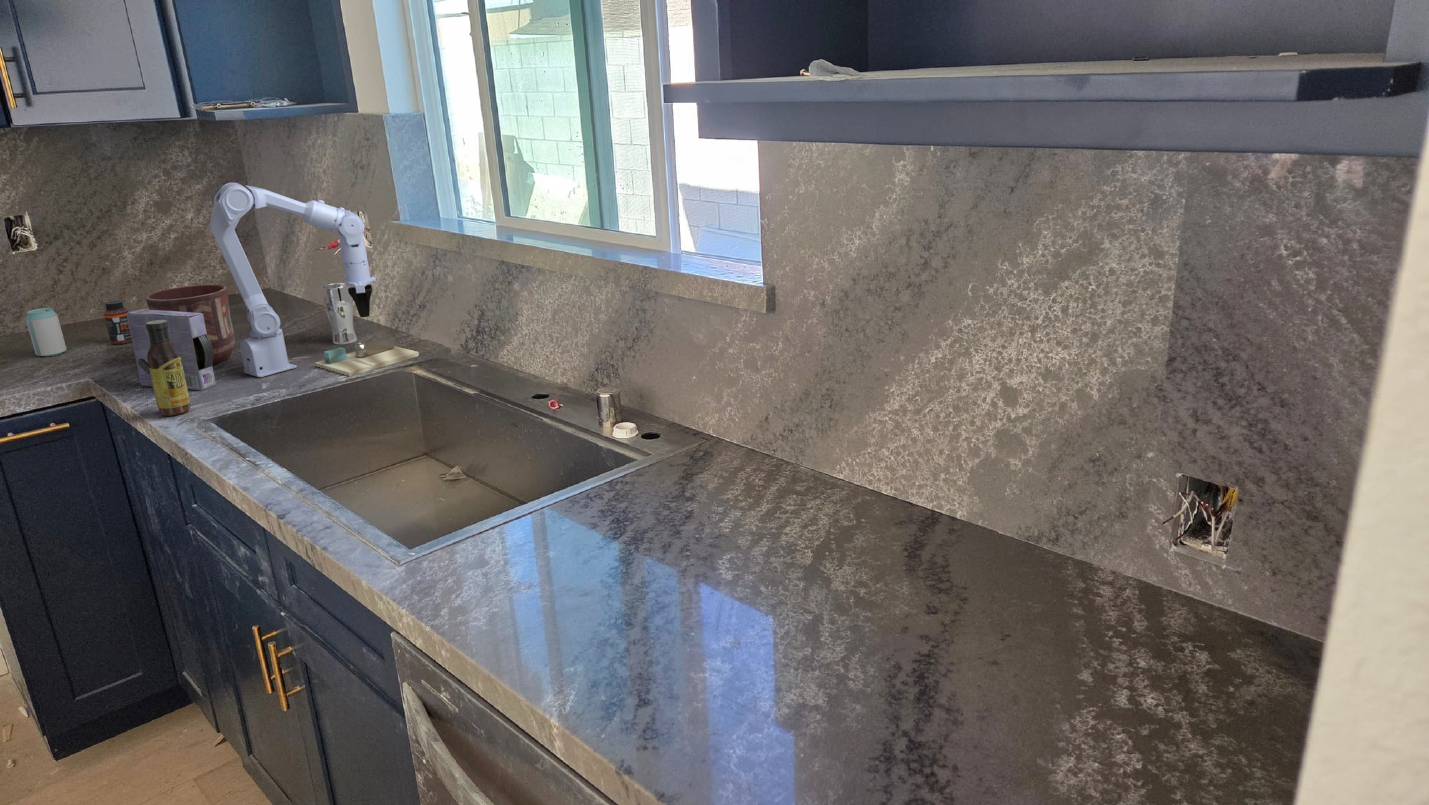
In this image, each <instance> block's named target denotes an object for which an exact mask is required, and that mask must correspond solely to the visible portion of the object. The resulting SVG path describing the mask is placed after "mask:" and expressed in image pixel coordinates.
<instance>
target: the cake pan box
mask: <svg viewBox="0 0 1429 805" xmlns="http://www.w3.org/2000/svg"><path fill="white" fill-rule="evenodd" d="M127 317H128V322H129V327H130V332H131V337H132V342H131V343H132V346H133V351H134V352H133V353H134V357H135V362H136V366H137V370H138V372H137V373H138V377H139V382H140V385H141V387H152V388H153V384H152V379H151V375H150V370H149V363H148V359H147V354H148V351H149V349H150V346H151V343H150V338H149V333H148V330H147V329H146V323H147V322H150V321H155V320H166V321H167V323H168V332H169V336H170V339H171V342H172V344H173V345H174V347H175V349H176V350H177V352H178V354H179V355H180V357H181V361H182V365H183V370H184V375H185V379H186V384H187V389H188V390H192V391H193V390H194V391H201V392H202V391H205V390H207V388H208V389H209V388H213V387H215V386H217V383H216V378H215V373H214V368H213V365H212V364H213V349H212V345H211V342H210V340H209V338H208V336H207V332H206V327H205V322H204V316H203V313H191V312H177V311H161V310H149V309H146V308H145V309H143V308H141V309H137V310H131V311H128V314H127Z"/></svg>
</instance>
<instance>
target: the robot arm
mask: <svg viewBox="0 0 1429 805" xmlns="http://www.w3.org/2000/svg"><path fill="white" fill-rule="evenodd" d="M213 200H214V201H213V207H212V212H211V217H210V220H209V227H210V230H211V232H212V235H213V237H214V239H215V241H216V243H217V246H218V247H219V251H220V253H221V254H222V256H223V259H224V261H225V263H226V265H227V268H228V269H229V271H230V272H229V273H230V275H231V276H232V278H233V281H234V283H235V285H236V287H237V289H238V291H239V293H240V296H241V299H242V300H243V303H244V305H245V308H246V319H247V321H248V324H250V326H251V331H250V332H249V334H248V335H249V337H247V338H245V339H242V340H241V341H240V344H239V345H240V346H239V348H240V354H241V358H242V363H243V367H244V370H243V373H245V374H248V375H250V376H253V377H257V378H264V377H266V376H271V375H274V374H278V373H281V372H284V371H289V370H293V369H296V368H297V364H292V363H289V357H288V353H287V348H286V347H287V346H286V343H285V342H286V341H285V338H284V332H283V329H282V328H280V327H281V318H280V316H279V315H278V314H277V313H276V312H275V310H274V308H273V307H272V306H271V305H270V304H269V303H268V301H267V298H266V297H265V295H264V293H263V291H262V288H261V286H260V284H259V282H258V280H257V278H256V274H255V273H254V271H253V268H252V266H251V264H250V262H249V260H248V257H247V255H246V253H245V251H244V248H243V246H242V244H241V242H240V240H239V237H238V235H237V233H236V231H235V229H236V227H237V225H238V224H239V222H240V220H241V219H242V217H243V216H245V215H246V214H247V213H248V212H249V211H250V210H251V209H252V207H253V208H254V209H256V210H257V209H261V208H265V207H267V208H268V207H269V208H271V209H275V210H280V211H282V212H283V211H284V212H287V213H290V214H293V215H296V216H300V217H302V219H303V221H304V223H306V224H307V225H310V226H314V227H315V228H320V229H323V230H325V231H326V230H327V231H330V232H337V233H338V237H339V242H340V243H339V246H340V252H341V258H342V263H343V264H342V265H343V270H344V275H345V283H346V285H349V288H348V293H349V294H350V296H351V297H352V301H353V303H354V304H355V307H356V310H357V313H358V315H359V317H360V318H370V312H371V311H370V310H371V309H370V308H371V307H370V306H371V297H372V294H373V286H372V284H370V283H372V282H376V281H377V279H376V277H375V276H371V271H370V265H369V261H368V255H367V247H366V243H365V238H364V234H363V233H364V232H365V228H366V226H365V223H364V222H363V220H362V218H361V217H360V216H359V215H358V214H356V213H355V212H351V211H350V210H348V209H346V210H345V208H344V207H341V206H339V208H338V207H335V206H333V205H328V204H326V203H325V200H322V199H317V200H314V199H313V200H310V201H308V202H302V201H299V200H296V199H293V198H291V197H287V196H285V195H282V194H279V193H276V192H273V191H271V190H268V189H266V188H262V187H261V188H260V187H257V186H252V185H245V184H244V186H243V185H242V184H241V183H238V182H227V183H226V184H223V185H222V186H221V187H220V188H219V190H218V191H217V194H216V195H215V196H214V199H213Z"/></svg>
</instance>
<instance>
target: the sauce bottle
mask: <svg viewBox="0 0 1429 805" xmlns="http://www.w3.org/2000/svg"><path fill="white" fill-rule="evenodd" d="M146 329H147V330H148V333H149V338H150V343H151V346H150V349H149V351H148V354H147V359H148V363H149V370H150V375H151V379H152V384H153V387H152V388H153V392H154V397H155V401H156V406H157V408H158V412H159V414H160V416H164V417H172V416H178V415H181V414H182V415H183V414H185V413H187V412H189V411H190V409H191V401H190V400H191V399H190V394H189V389H187V384H186V379H185V375H184V370H183V365H182V361H181V357H180V355H179V354H178V352H177V350H176V349H175V347H174V345H173V344H172V342H171V339H170V336H169V332H168V323H167V321H166V320H155V321H150V322H147V323H146Z"/></svg>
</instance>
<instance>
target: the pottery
mask: <svg viewBox="0 0 1429 805" xmlns="http://www.w3.org/2000/svg"><path fill="white" fill-rule="evenodd" d="M145 298H146V305H147V307H148V310H161V311H177V312H191V313H203V316H204V322H205V327H206V332H207V336H208V338H209V340H210V342H211V345H212V349H213V364H212V366H214V365H217V364H220V363H222V362H224V361H226V360H227V359H228V358H229V356H231V354H232V352H233V349H234V346H235V341H236V336H235V331H234V328H233V322H232V318H231V311H230V302H229V290H228V287H227V286H226V285H222V284H193V285H187V286H185V285H184V286H178V287H177V286H176V287H173V288H167V289H164V290H159V291H156V292H152V293H151V294H148V295H147V296H146V297H145Z"/></svg>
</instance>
